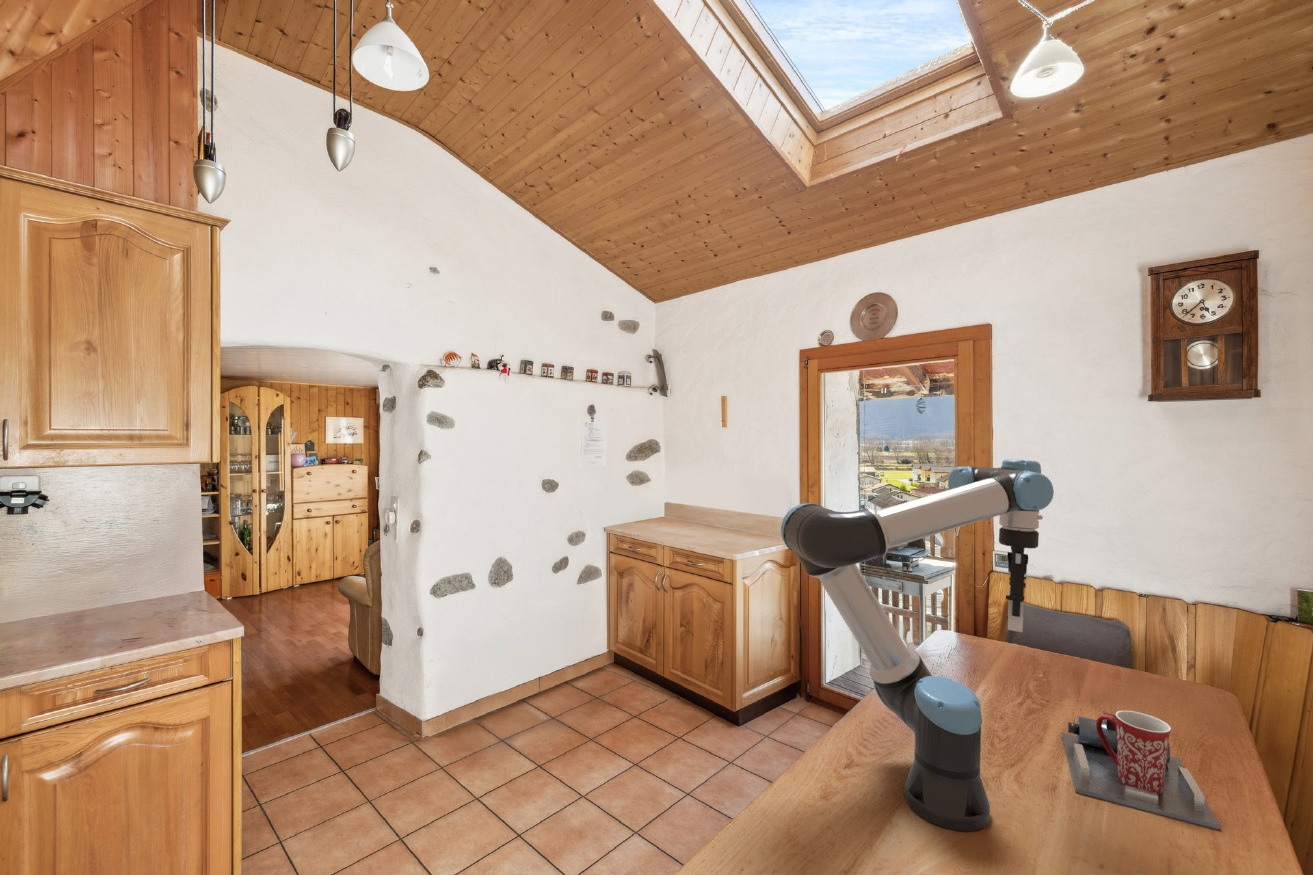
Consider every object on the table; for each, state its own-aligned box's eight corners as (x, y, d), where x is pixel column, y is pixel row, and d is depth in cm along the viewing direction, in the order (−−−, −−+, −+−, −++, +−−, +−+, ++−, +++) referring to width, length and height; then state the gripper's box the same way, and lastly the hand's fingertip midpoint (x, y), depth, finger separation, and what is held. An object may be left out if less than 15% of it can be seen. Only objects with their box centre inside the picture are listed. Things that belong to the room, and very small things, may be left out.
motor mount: (1219, 830, 108) (1220, 785, 108) (1075, 792, 119) (1076, 751, 119) (1179, 762, 131) (1179, 725, 131) (1061, 736, 142) (1062, 701, 142)
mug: (1178, 790, 119) (1180, 725, 118) (1156, 802, 114) (1157, 735, 114) (1108, 759, 130) (1109, 699, 130) (1085, 769, 126) (1087, 707, 126)
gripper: (1041, 537, 117) (1037, 641, 117) (1036, 524, 138) (1032, 612, 138) (998, 532, 121) (994, 633, 121) (1000, 520, 142) (996, 606, 142)
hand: (1014, 622), depth 129 cm, fingers open, 13 cm apart
